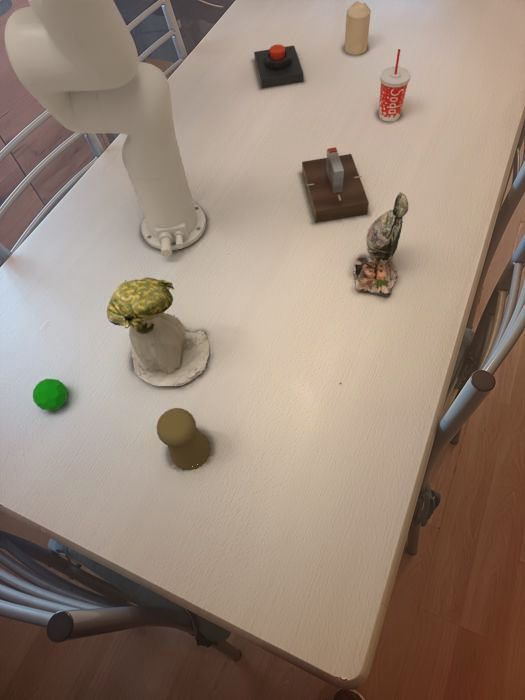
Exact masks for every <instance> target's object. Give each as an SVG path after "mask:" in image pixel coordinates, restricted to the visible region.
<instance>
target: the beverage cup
mask: <svg viewBox="0 0 525 700" xmlns="http://www.w3.org/2000/svg"><path fill="white" fill-rule="evenodd" d="M400 56H401V48H398V49H397V54H396V59H395V65H394V66H389V67H388V66H387V67H385V68H384V69H382V70H381V72H380V74H379V81H380V88H379V89H380V90H379V103H378V117H379V118H380V120H381V121H384V122H395V121H397V120H398V119H400V117H401V113H402V109H403V105H404V100H405V96H406V93H407V88H408V84H409V82H410V81H411V77H412V75H411V74H412V73H411V71H409V70H408V69H407V68H405V67H403V66H399V61H400Z"/></svg>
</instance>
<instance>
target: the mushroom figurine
mask: <svg viewBox="0 0 525 700" xmlns="http://www.w3.org/2000/svg"><path fill="white" fill-rule="evenodd" d="M170 290H173V291H174V290H175V287H174V283H173V282H172V281H168V280H164V279H157V278H155V277H154V278H153V277H142V278H141V279H133V280H128V281H127V279H125V280H124V282H122V283H120V284H119V285H118V286H117V287H116V288H115V290H114V292H113V293H112V294H111V297H110V300H109V302H108V305H107V307H106V316H107V319H108V321H109V322H110V323H111V324H113V325H115V326H118V327H124V329H129V330H128V336H129V340H130V343H131V346H132V348H131V359H132V361H133V368H134V369H133V371H134V373H135V374H136V375H137V376H138V377H139V378H140V379H141V380H142V381H144V382H146V383H148V384H149V385H152V386H155V387H180V386H185V385H186V384H187V383H189V382H192V381H193V380H195V379H196V378H198V376H199V375H201V374H202V373H203V371H205V370H206V367H207V363H208V359H209V358H210V343H209V338H208V337H207V335H206V333H205V332H204V331H202V330H198V331H196V332H189V331H186V328H185V325H184V323H183V322H182V321H181V319H180V318H179V317H178V316H177V317H176V314H170V313H166V311H168V310H169V309H170V307H172V306H173V302H174V297H173V295H172V292H171V291H170Z"/></svg>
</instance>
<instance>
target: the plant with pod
mask: <svg viewBox="0 0 525 700" xmlns="http://www.w3.org/2000/svg"><path fill="white" fill-rule="evenodd" d="M408 212H409V201H408V197H407V196H406V194H405V193H403V192H401V191H400V192H399V193H398V194H397V196H396V198H395V201H394V205H393V209H389V210H388V211H385V212H384V213H383V214H381V215H380V216H379V217H377V218H376V219H375V220H374V221H373V222H372V223H371V225H370V227H368V229H367V232H366V237H365V238H366V247H367V249H366V251H367V253H368V254H369V256H370V257H371V258H370V257H366V256H361V257H357V258H356V262H355V264H354V266H353V269H352V272H353V276H354V277H353V280H354V281H355V290H356V291H358V292H361V293H362V292H365V293H367V292H369V293H371V294H372V293H374V295H381V297H384V298H385V297H388V296H390V295H391V292H392V290H393V287H394V285H395V283H396V281H397V279H398V273H397V270H395V267H394V264H393V262H392V261H391V260H392V259H393V257H394V255H395V253H396V251H397V250H398V247H399V241H400V238H401V233H402V228H403V223H404V220H403V219H404V218H403V217H405V216H406V214H407V213H408Z"/></svg>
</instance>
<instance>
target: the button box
mask: <svg viewBox="0 0 525 700" xmlns="http://www.w3.org/2000/svg"><path fill="white" fill-rule="evenodd" d="M284 47H285V57H284V58H282V59H278V60H275V59H271V58H270V48H269V49H264V50H257V51H253V55H254V63H255V67H256V71H257V77H258V80H259V84H260V88H261V89H268V88H274V87H275V88H276V87H280V86H286V85H292V84H293V85H294V84H299V83H304V71H303V67H302V65H301V62H300V59H299V56H298V52H297V50H296V47H295V45H288V46H284Z"/></svg>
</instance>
